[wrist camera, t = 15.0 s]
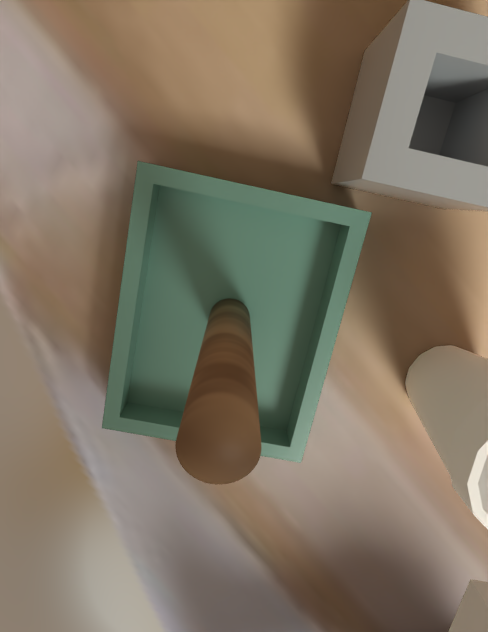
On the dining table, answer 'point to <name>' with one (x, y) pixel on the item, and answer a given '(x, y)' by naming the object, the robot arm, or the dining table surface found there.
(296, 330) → the tray
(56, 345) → the dining table surface
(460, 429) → the foam cup
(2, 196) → the dining table surface
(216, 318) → the dowel
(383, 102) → the grey hollow square block
